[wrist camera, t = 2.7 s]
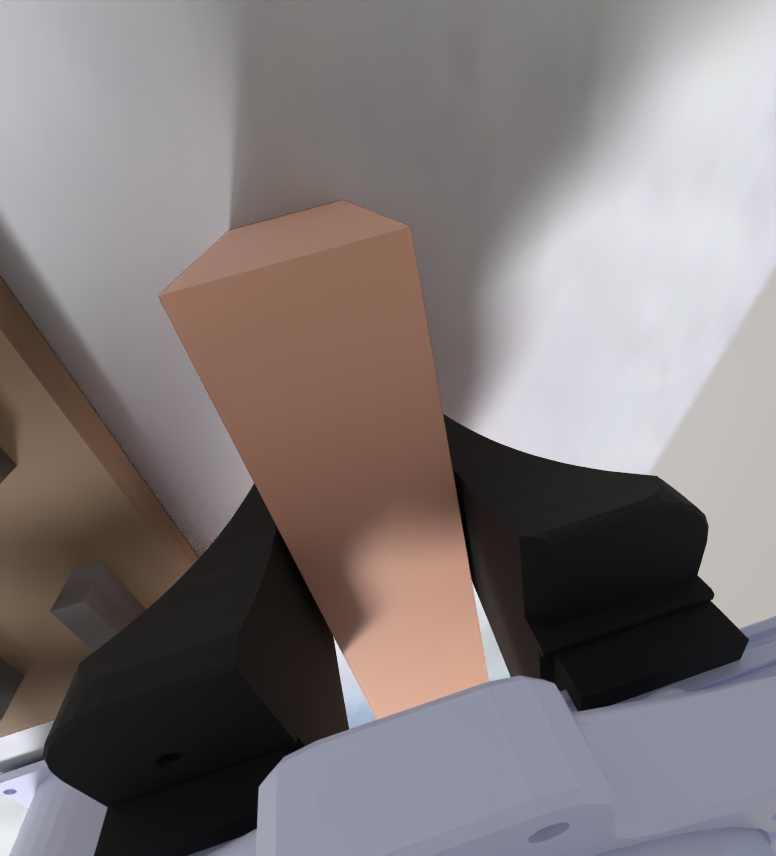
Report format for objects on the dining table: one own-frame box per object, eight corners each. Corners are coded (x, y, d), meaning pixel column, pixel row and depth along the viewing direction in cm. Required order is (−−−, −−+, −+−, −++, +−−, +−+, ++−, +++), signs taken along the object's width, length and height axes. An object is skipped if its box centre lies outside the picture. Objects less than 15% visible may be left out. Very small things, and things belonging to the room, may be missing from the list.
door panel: (422, 523, 17) (492, 701, 11) (352, 545, 17) (386, 738, 11) (343, 199, 11) (411, 226, 5) (229, 230, 11) (157, 296, 5)
